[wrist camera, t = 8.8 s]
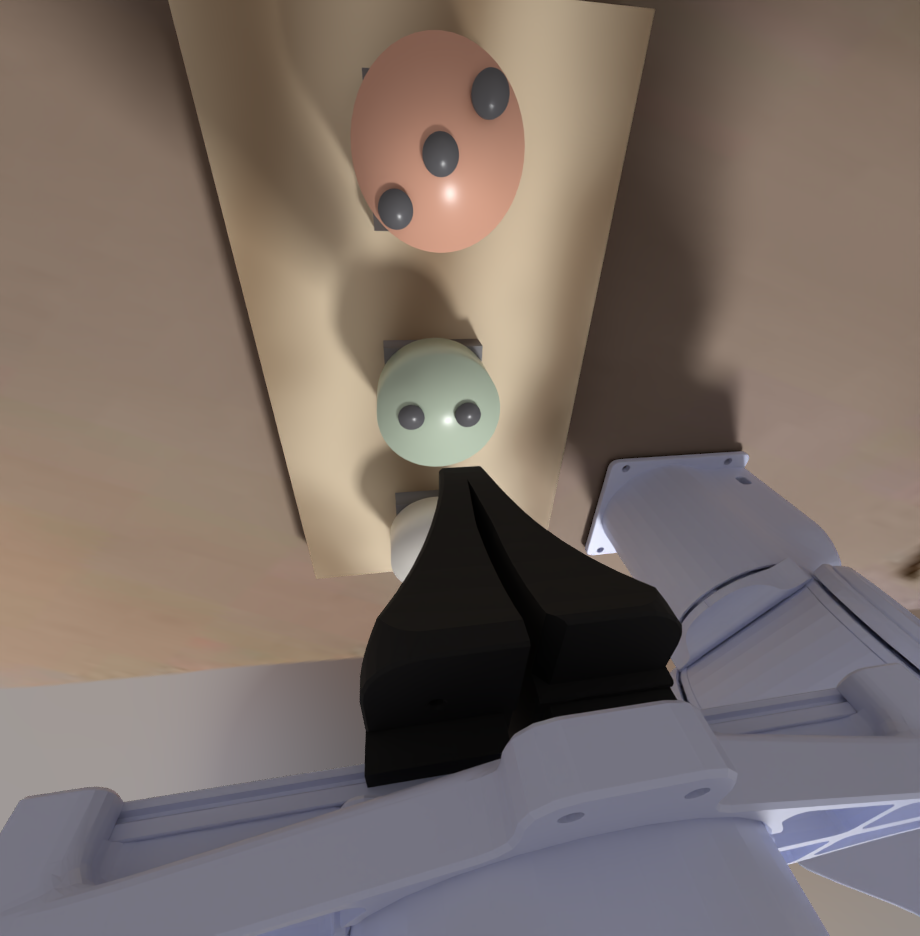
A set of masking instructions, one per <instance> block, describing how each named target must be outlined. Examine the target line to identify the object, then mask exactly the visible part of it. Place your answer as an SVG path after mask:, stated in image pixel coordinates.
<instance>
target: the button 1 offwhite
mask: <svg viewBox="0 0 920 936" xmlns="http://www.w3.org/2000/svg"><path fill="white" fill-rule="evenodd" d="M437 501H438V497H429V498H424V499H421V500H418V501H416V502H413V503H411V504H410V505H408V506H406V507H405V508H404V509H403V510H401V511H400V512H399V513H398V515H397V516H396V517H395V519H394V521H393V523H392V526H391V530H390V543H391V567H392V570H393V572H394V574H395V576H396V577H397V578H398V579H399V580H400V581H401V582H403V581H404V580H405V578H406V576H407V575H408V573H409V572H410V570H411V568H412V566H413V564H414V562H415V560H416V558H417V557H418V555H419V553H420V551H421V548H422V546H423V544H424V542H425V539H426V537H427V534H428V532H429V529H430V526H431V523H432V520H433V517H434V513H435V510H436V506H437Z"/></svg>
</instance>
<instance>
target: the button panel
mask: <svg viewBox="0 0 920 936" xmlns="http://www.w3.org/2000/svg"><path fill="white" fill-rule="evenodd" d="M168 2H169V6H170V10H171V14H172V18H173V22H174V26H175V30H176V33H177V37H178V41H179V45H180V49H181V53H182V57H183V61H184V65H185V69H186V73H187V76H188V80H189V84H190V88H191V92H192V96H193V100H194V104H195V108H196V112H197V116H198V119H199V123H200V127H201V131H202V135H203V139H204V143H205V147H206V151H207V155H208V159H209V162H210V166H211V170H212V174H213V178H214V182H215V186H216V190H217V194H218V198H219V202H220V206H221V209H222V213H223V217H224V221H225V225H226V229H227V233H228V237H229V241H230V245H231V249H232V252H233V256H234V260H235V264H236V268H237V272H238V276H239V280H240V284H241V288H242V292H243V295H244V299H245V303H246V307H247V311H248V315H249V319H250V323H251V327H252V331H253V335H254V338H255V342H256V346H257V350H258V354H259V358H260V362H261V366H262V370H263V374H264V378H265V382H266V385H267V389H268V393H269V397H270V401H271V405H272V409H273V413H274V417H275V421H276V425H277V428H278V432H279V436H280V440H281V444H282V448H283V452H284V456H285V460H286V464H287V468H288V471H289V475H290V479H291V483H292V487H293V491H294V495H295V499H296V503H297V507H298V511H299V514H300V518H301V522H302V526H303V530H304V534H305V538H306V542H307V546H308V550H309V554H310V558H311V561H312V565H313V569H314V573H315V577H316V579H321V578H331V577H342V576H352V575H362V574H372V573H382V572H392V571H393V570H392V567H391V543H390V530H391V526H392V523H393V521H394V519H395V517H396V516H397V515H398V513H399V512H400V511H401V510H403V509H404V508H405V507H406V506H408V505H410V504H411V503H413V502H416V501H418V500H421V499H424V498H429V497H438V496H439V471H440V470H441V469H442V468H453V467H470V466H481V467H482V468H483V469H484V470H485V471H486V472H487V474H488V475H489V476H490V477H491V478H492V479H493V480H494V481H495V483H496V484H497V485H498V486H499V487H500V488H501V489H502V490H503V491H504V492H505V493H506V494H507V495H508V496H509V497H510V498H511V499H512V500H513V501H514V502H515V503H516V504H517V505H518V506H519V507H520V508H521V509H522V510H523V511H524V512H525V513H527V514H528V515H529V516H530V517H531V518H532V519H534V520H535V521H536V522H537V523H538V524H540V525H541V526H542V527H544V528H545V529H546V530H548V526H549V522H550V517H551V512H552V507H553V502H554V497H555V493H556V488H557V483H558V478H559V473H560V468H561V463H562V459H563V454H564V449H565V444H566V439H567V434H568V430H569V425H570V420H571V415H572V410H573V405H574V400H575V396H576V391H577V386H578V381H579V376H580V371H581V367H582V362H583V357H584V352H585V347H586V342H587V337H588V333H589V328H590V323H591V318H592V313H593V308H594V304H595V299H596V294H597V289H598V284H599V279H600V274H601V270H602V265H603V260H604V255H605V250H606V245H607V240H608V236H609V231H610V226H611V221H612V216H613V211H614V207H615V202H616V197H617V192H618V187H619V182H620V177H621V173H622V168H623V163H624V158H625V153H626V148H627V144H628V139H629V134H630V129H631V124H632V119H633V114H634V110H635V105H636V100H637V95H638V90H639V85H640V81H641V76H642V71H643V66H644V61H645V56H646V51H647V47H648V42H649V37H650V32H651V27H652V22H653V18H654V13H655V9H651V8H642V7H633V6H624V5H615V4H606V3H597V2H588V1H579V0H168ZM426 30H443V31H448V32H453V33H456V34H459V35H461V36H464V37H466V38H468V39H469V40H471V41H473V42H475V43H476V44H478V45H479V46H480V47H481V48H483V49H484V50H485V51H486V52H487V53H489V55H490V56H491V57H492V58H493V59H494V60H495V61H496V62H497V63H498V65H499V66H500V68H501V69H502V71H503V72H504V73H505V75H506V77H507V79H508V81H509V82H510V84H511V86H512V88H513V91H514V93H515V96H516V98H517V101H518V104H519V108H520V112H521V115H522V121H523V128H524V140H525V152H524V164H523V171H522V176H521V179H520V183H519V187H518V190H517V192H516V195H515V198H514V200H513V202H512V204H511V206H510V208H509V210H508V211H507V213H506V214H505V216H504V218H503V219H502V220H501V222H500V223H499V224H498V225H497V226H496V228H495V229H494V230H493V231H492V232H490V233H489V234H488V235H487V236H486V237H485V238H483V239H482V240H480V241H479V242H477V243H476V244H474V245H472V246H470V247H467V248H465V249H462V250H459V251H454V252H447V253H436V252H428V251H424V250H420V249H417V248H415V247H412V246H410V245H408V244H406V243H404V242H403V241H401V240H399V239H398V238H397V237H395V236H394V235H393V234H391V233H390V232H389V231H388V230H387V229H386V228H385V227H384V226H383V225H382V224H381V222H380V221H379V220H378V219H377V218H376V216H375V215H374V213H373V212H372V210H371V209H370V207H369V206H368V204H367V202H366V200H365V198H364V196H363V194H362V192H361V189H360V186H359V184H358V181H357V178H356V174H355V170H354V166H353V160H352V153H351V137H350V135H351V120H352V114H353V108H354V104H355V100H356V97H357V94H358V91H359V88H360V86H361V84H362V81H363V79H364V77H365V75H366V74H367V72H368V70H369V69H370V67H371V65H372V64H373V63H374V62H375V60H376V59H377V58H378V57H379V56H380V54H381V53H382V52H383V51H385V50H386V49H387V48H388V47H389V46H390V45H391V44H393V43H395V42H396V41H398V40H399V39H401V38H403V37H405V36H408V35H410V34H413V33H415V32H420V31H426ZM425 338H445V339H450V340H453V341H456V342H458V343H460V344H462V345H464V346H466V347H467V348H469V349H470V350H471V351H472V352H474V353H475V354H476V356H477V357H478V358H479V359H480V361H481V362H482V364H483V365H484V367H485V369H486V371H487V372H488V374H489V376H490V378H491V379H492V381H493V383H494V385H495V387H496V389H497V392H498V395H499V400H500V416H499V421H498V424H497V427H496V429H495V431H494V433H493V435H492V437H491V438H490V440H489V441H488V442H487V443H486V445H485V446H484V447H483V448H482V449H481V450H479V451H478V452H477V453H476V454H474V455H473V456H471V457H469V458H468V459H466V460H464V461H461V462H459V463H456V464H452V465H448V466H437V467H432V466H424V465H419V464H416V463H413V462H410V461H408V460H406V459H404V458H402V457H401V456H399V455H398V454H397V453H395V452H394V451H393V450H392V449H391V448H390V447H389V446H388V444H387V443H386V442H385V440H384V439H383V437H382V434H381V432H380V429H379V426H378V422H377V388H378V381H379V377H380V374H381V372H382V370H383V368H384V366H385V364H386V363H387V361H388V360H389V359H390V358H391V356H392V355H393V354H395V353H396V352H397V351H398V350H399V349H401V348H402V347H404V346H405V345H407V344H409V343H411V342H414V341H417V340H421V339H425Z"/></svg>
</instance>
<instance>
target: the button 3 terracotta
mask: <svg viewBox="0 0 920 936" xmlns="http://www.w3.org/2000/svg"><path fill="white" fill-rule="evenodd" d="M350 137H351V153H352V160H353V166H354V170H355V174H356V178H357V181H358V184H359V186H360V189H361V192H362V194H363V196H364V198H365V200H366V202H367V204H368V206H369V207H370V209H371V210H372V212H373V213H374V215H375V216H376V218H377V219H378V220H379V221H380V222H381V224H382V225H383V226H384V227H385V228H386V229H387V230H388V231H389V232H390V233H391V234H393V235H394V236H395V237H397V238H398V239H399V240H401V241H403V242H404V243H406V244H408V245H410V246H412V247H415V248H417V249H420V250H424V251H428V252H436V253H447V252H454V251H459V250H462V249H465V248H467V247H470V246H472V245H474V244H476V243H477V242H479V241H480V240H482V239H483V238H485V237H486V236H487V235H488V234H489V233H490V232H492V231H493V230H494V229H495V228H496V226H497V225H498V224H499V223H500V222H501V220H502V219H503V218H504V216H505V214H506V213H507V211H508V210H509V208H510V206H511V204H512V202H513V200H514V198H515V195H516V192H517V190H518V187H519V183H520V179H521V176H522V171H523V164H524V152H525V140H524V128H523V121H522V115H521V112H520V108H519V104H518V101H517V98H516V96H515V93H514V91H513V88H512V86H511V84H510V82H509V81H508V79H507V77H506V75H505V73H504V72H503V71H502V69H501V68H500V66H499V65H498V63H497V62H496V61H495V60H494V59H493V58H492V57H491V56H490V55H489V53H487V52H486V51H485V50H484V49H483V48H481V47H480V46H479V45H478V44H476V43H475V42H473V41H471V40H469V39H468V38H466V37H464V36H461V35H459V34H456V33H453V32H448V31H443V30H426V31H420V32H415V33H413V34H410V35H408V36H405V37H403V38H401V39H399V40H398V41H396V42H395V43H393V44H391V45H390V46H389V47H388V48H387V49H386V50H385V51H383V52H382V53H381V54H380V56H379V57H378V58H377V59H376V60H375V62H374V63H373V64H372V65H371V67H370V69H369V70H368V72H367V74H366V75H365V77H364V79H363V81H362V84H361V86H360V88H359V91H358V94H357V97H356V100H355V104H354V108H353V114H352V120H351V135H350Z"/></svg>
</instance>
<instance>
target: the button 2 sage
mask: <svg viewBox="0 0 920 936" xmlns="http://www.w3.org/2000/svg"><path fill="white" fill-rule="evenodd" d="M499 416H500V400H499V395H498V392H497V389H496V387H495V385H494V383H493V381H492V379H491V378H490V376H489V374H488V372H487V371H486V369H485V367H484V365H483V364H482V362H481V361H480V359H479V358H478V357H477V356H476V354H475V353H474V352H472V351H471V350H470V349H469V348H467V347H466V346H464V345H462V344H460V343H458V342H456V341H453V340H450V339H445V338H425V339H421V340H417V341H414V342H411V343H409V344H407V345H405V346H404V347H402V348H401V349H399V350H398V351H397V352H396V353H395V354H393V355H392V356H391V358H390V359H389V360H388V361H387V363H386V364H385V366H384V368H383V370H382V372H381V374H380V377H379V381H378V388H377V422H378V426H379V429H380V432H381V434H382V437H383V439H384V440H385V442H386V443H387V444H388V446H389V447H390V448H391V449H392V450H393V451H394V452H395V453H397V454H398V455H399V456H401V457H402V458H404V459H406V460H408V461H410V462H413V463H416V464H419V465H424V466H432V467H437V466H448V465H452V464H456V463H459V462H461V461H464V460H466V459H468V458H469V457H471V456H473V455H474V454H476V453H477V452H478V451H479V450H481V449H482V448H483V447H484V446H485V445H486V443H487V442H488V441H489V440H490V438H491V437H492V435H493V433H494V431H495V429H496V427H497V424H498V421H499Z"/></svg>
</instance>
